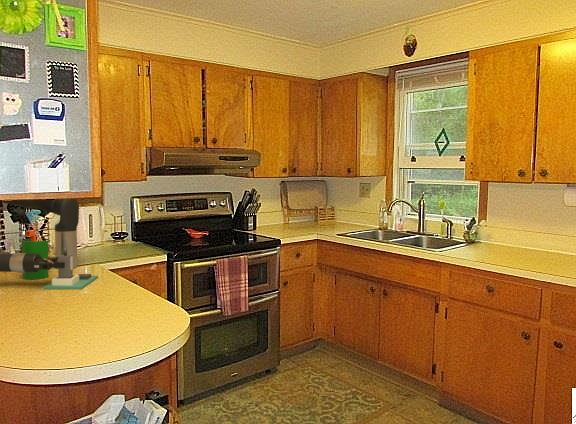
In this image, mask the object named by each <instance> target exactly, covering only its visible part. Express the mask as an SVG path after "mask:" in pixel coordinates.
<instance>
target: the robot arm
mask: <svg viewBox="0 0 576 424" xmlns="http://www.w3.org/2000/svg"><path fill="white" fill-rule="evenodd" d="M0 203H4V204H8V205H12V206H16V207H21V208H27V209H38V210H42V211H46V212H49V213H52V214H55V215H57V216H59V222H58V223H56V224H55V226H54V245H55V246H54V248H55V249H54V254H55V255H54V256H48V257H45V258H43V259H42V258H41V255H40V254H38V253H22V252H19V253H1V254H0V272H1V273H18V274H19V273H37V272H39V271H40V270H48V271H49V270H54V269H57V270H58V268H65V263H64V262H58V256H60V255H64V248H67V255H73V269H75V268H78V234H77V233H78V232H77V231H78V225H79V223H80V220H79V219H80V204H79V202H78V199H77V198H75V199H55V200H18V201H0Z"/></svg>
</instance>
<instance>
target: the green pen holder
mask: <svg viewBox="0 0 576 424" xmlns="http://www.w3.org/2000/svg"><path fill="white" fill-rule="evenodd" d="M25 237H30V238H28V239H27V238H26V239H22V240H21V250H22V251H21V253H38V254H40V255H41V258H42V259H43V258H45V257H49V240H45V239H44V240H38V241H37V235H36V232H35V230H30V229H29V230H25ZM21 276H22V279H24V280H42V279H46V278H49V270H40V271H39V272H37V273H22V275H21Z"/></svg>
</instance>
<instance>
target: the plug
mask: <svg viewBox="0 0 576 424" xmlns="http://www.w3.org/2000/svg"><path fill="white" fill-rule="evenodd" d="M58 262H64V263H65V268H58V269H57V272H58V275H57V276H58V279H71V278H73V275H74V268H73V255H67V248H64V255H60V256H58Z"/></svg>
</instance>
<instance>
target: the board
mask: <svg viewBox="0 0 576 424" xmlns="http://www.w3.org/2000/svg"><path fill="white" fill-rule="evenodd" d="M97 279H99V275H92V273H78V274H73V278H71V279H58V275H56V276H55V277H53V278H51V281H50V283H48V284H46V285H44V286H43V290H83V289H84V288H86V287H88V286H89V285H90V284H91V283H93V282H94V281H95V280H97Z"/></svg>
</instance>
